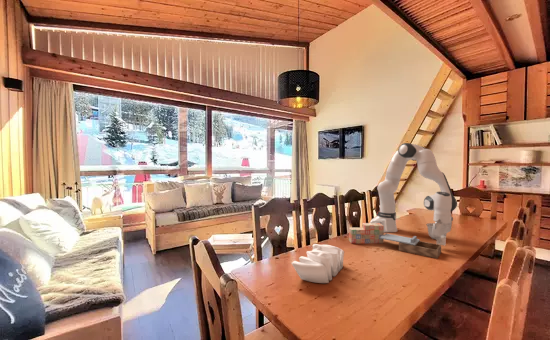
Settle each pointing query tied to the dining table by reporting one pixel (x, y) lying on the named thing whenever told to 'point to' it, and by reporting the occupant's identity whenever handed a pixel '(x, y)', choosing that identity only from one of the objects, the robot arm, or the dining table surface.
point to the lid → (400, 239)
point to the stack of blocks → (367, 233)
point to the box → (422, 249)
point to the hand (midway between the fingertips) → (441, 241)
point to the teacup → (430, 230)
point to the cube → (442, 241)
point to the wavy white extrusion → (320, 263)
